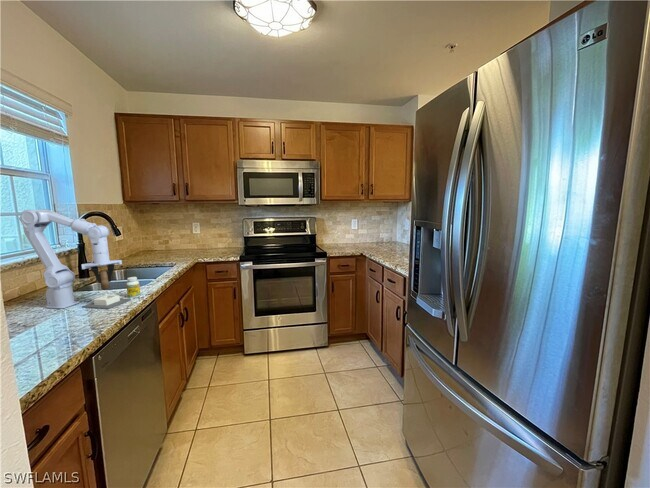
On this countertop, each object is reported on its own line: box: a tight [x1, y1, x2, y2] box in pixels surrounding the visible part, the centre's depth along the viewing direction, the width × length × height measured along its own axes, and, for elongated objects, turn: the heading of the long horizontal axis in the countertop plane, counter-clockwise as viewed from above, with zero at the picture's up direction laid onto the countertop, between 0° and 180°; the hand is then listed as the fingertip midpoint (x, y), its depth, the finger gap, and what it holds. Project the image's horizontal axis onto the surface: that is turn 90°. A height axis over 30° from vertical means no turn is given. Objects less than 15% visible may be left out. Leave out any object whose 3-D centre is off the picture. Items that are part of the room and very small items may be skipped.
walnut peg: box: [98, 269, 111, 290], centre depth 136 cm, size 3×3×8 cm
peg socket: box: [81, 294, 132, 310], centre depth 137 cm, size 14×12×3 cm
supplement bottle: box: [125, 276, 141, 299], centre depth 147 cm, size 5×5×10 cm
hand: (104, 282), depth 136 cm, fingers closed on walnut peg, 3 cm apart
